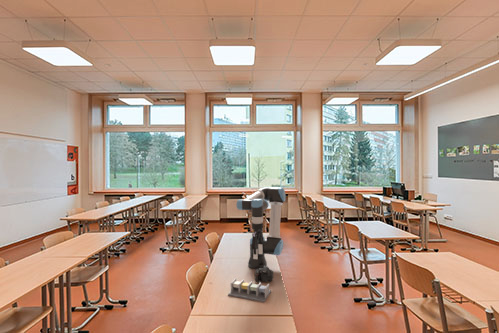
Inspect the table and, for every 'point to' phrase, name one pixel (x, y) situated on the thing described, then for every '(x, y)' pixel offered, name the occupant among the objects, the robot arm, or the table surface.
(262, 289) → the key slate
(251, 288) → the key sage
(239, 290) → the grey slotted rack
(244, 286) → the key mustard
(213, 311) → the table surface
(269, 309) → the table surface
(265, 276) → the camera
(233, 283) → the key cream
